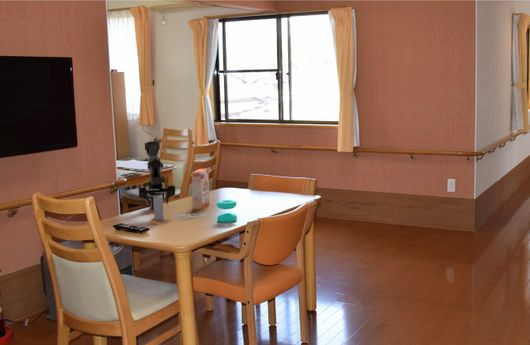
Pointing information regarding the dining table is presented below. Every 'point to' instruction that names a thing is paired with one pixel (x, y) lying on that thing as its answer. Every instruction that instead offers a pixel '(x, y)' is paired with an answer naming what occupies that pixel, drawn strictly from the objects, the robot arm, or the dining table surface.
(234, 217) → the donuts
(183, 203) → the dining table surface
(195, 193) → the cracker box
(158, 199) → the grey-blue tall block
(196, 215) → the board
